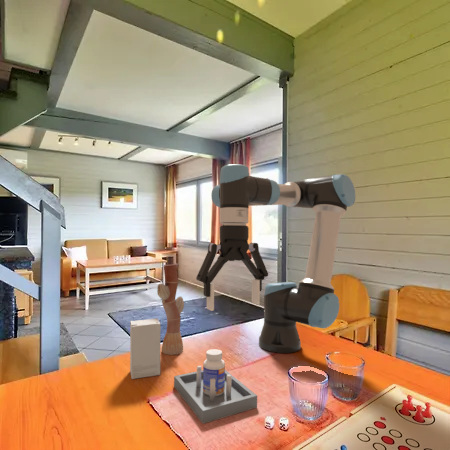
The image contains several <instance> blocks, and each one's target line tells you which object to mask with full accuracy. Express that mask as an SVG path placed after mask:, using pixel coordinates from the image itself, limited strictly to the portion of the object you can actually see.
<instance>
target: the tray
mask: <svg viewBox="0 0 450 450" xmlns="http://www.w3.org/2000/svg"><path fill="white" fill-rule="evenodd" d="M202 367H203V365H197V366H196V371H193V372H188V373H184V374H178V375H174V376H173V379H174V380H173V387H174V389H175V390H176V391H177V393H178V394H179V395H180V396H181V397H182V399H183V400H184V402H185V403H186V404H187V405H188V407H189V408H190V409H191V411H193V413H194V415H196V417H197V418H198V421H200V422H201V424H206V423H210V422H213V421H216V420H220V419H224V418H227V417H229V416H234V415H237V414H240V413H244V412H246V411H250V410H253V409H255V408H258V395H257V393H255V392H253V391H252V390H251V389H250V388H248V386H246V385H245V384H244V383H243V382H241V381H240V380H239V379H238V378H236V377H235V376H233V375H232V374H231V373H230V372H229V371H228V370H226V369H225V389H224V393H223V394H222V395H219V396H215V379H214V378H211V379H210V396H208V395H206V394H205V393H204V392H203V368H202Z"/></svg>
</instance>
